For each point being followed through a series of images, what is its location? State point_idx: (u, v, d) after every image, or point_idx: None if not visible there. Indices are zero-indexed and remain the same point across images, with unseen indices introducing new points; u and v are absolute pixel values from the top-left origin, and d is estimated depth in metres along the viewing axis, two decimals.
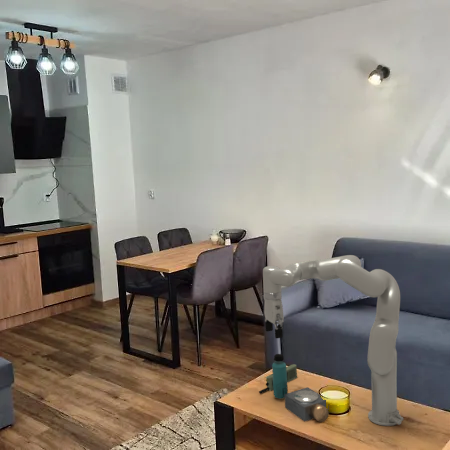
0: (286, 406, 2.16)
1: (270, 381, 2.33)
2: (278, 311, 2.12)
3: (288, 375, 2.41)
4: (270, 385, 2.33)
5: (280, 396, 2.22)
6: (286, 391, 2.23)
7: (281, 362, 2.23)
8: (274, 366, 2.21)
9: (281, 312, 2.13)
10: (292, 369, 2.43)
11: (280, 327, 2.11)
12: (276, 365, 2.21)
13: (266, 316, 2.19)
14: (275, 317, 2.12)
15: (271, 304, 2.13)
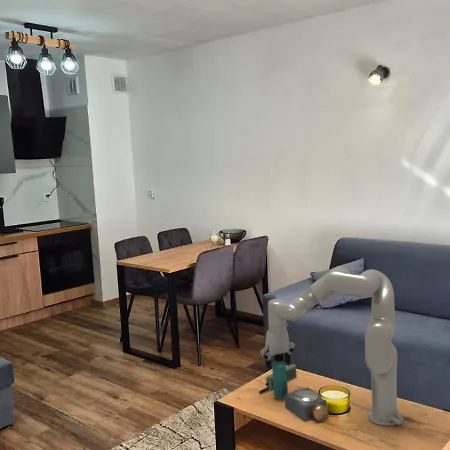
0: (286, 406, 2.16)
1: (270, 381, 2.33)
2: None
3: (288, 375, 2.41)
4: (270, 385, 2.33)
5: (280, 396, 2.22)
6: (286, 391, 2.23)
7: (281, 362, 2.23)
8: (274, 366, 2.21)
9: None
10: (292, 369, 2.43)
11: None
12: (276, 365, 2.21)
13: (276, 351, 2.19)
14: None
15: (286, 334, 2.21)
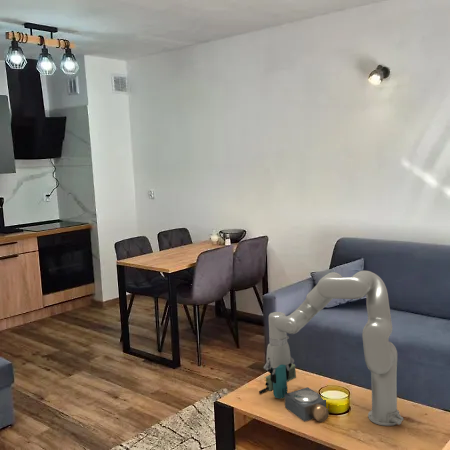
0: (286, 406, 2.16)
1: (270, 381, 2.33)
2: None
3: None
4: (270, 385, 2.33)
5: (280, 396, 2.22)
6: (286, 391, 2.23)
7: None
8: None
9: None
10: (291, 369, 2.43)
11: None
12: None
13: (277, 364, 2.20)
14: None
15: (287, 346, 2.22)
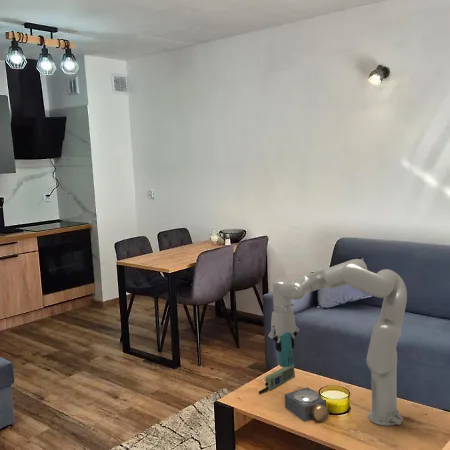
0: (286, 406, 2.16)
1: (269, 381, 2.33)
2: None
3: (286, 374, 2.42)
4: (269, 385, 2.33)
5: (285, 365, 2.17)
6: (291, 360, 2.18)
7: None
8: None
9: None
10: (290, 368, 2.44)
11: None
12: None
13: (282, 332, 2.15)
14: None
15: (292, 314, 2.17)
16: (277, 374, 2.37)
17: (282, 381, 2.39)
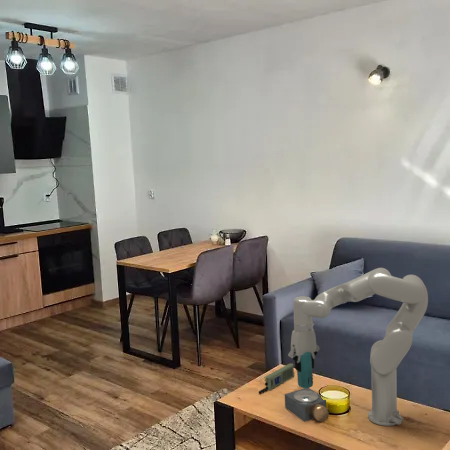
0: (286, 406, 2.16)
1: (269, 381, 2.33)
2: None
3: (286, 374, 2.42)
4: (269, 385, 2.33)
5: (305, 385, 2.08)
6: (311, 380, 2.09)
7: None
8: None
9: None
10: (289, 368, 2.44)
11: None
12: None
13: (302, 352, 2.07)
14: None
15: (313, 333, 2.09)
16: (277, 374, 2.37)
17: (282, 381, 2.39)
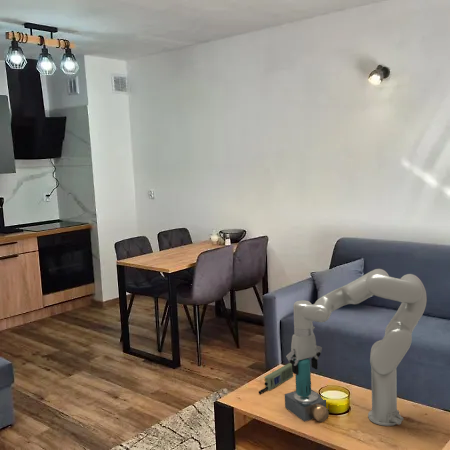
0: (286, 406, 2.16)
1: (269, 381, 2.33)
2: None
3: (285, 374, 2.42)
4: (269, 385, 2.33)
5: (303, 394, 2.08)
6: (310, 389, 2.09)
7: None
8: None
9: None
10: (289, 368, 2.44)
11: None
12: (299, 361, 2.08)
13: (303, 356, 2.07)
14: None
15: (313, 337, 2.09)
16: (276, 374, 2.37)
17: (281, 381, 2.40)
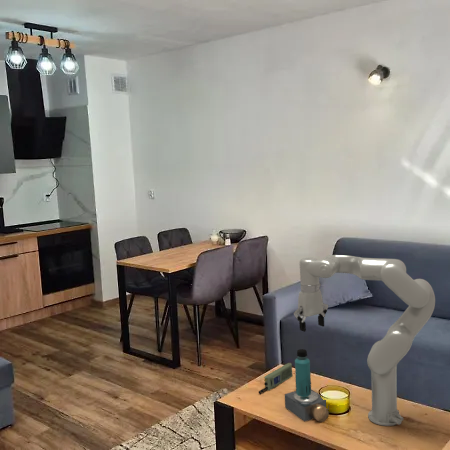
0: (286, 406, 2.16)
1: (269, 381, 2.33)
2: None
3: (284, 374, 2.42)
4: (269, 385, 2.33)
5: (303, 394, 2.08)
6: (310, 389, 2.09)
7: (304, 358, 2.10)
8: (297, 362, 2.08)
9: None
10: (288, 368, 2.44)
11: None
12: (299, 361, 2.08)
13: (310, 312, 2.07)
14: None
15: (320, 294, 2.09)
16: (276, 374, 2.37)
17: (281, 381, 2.40)
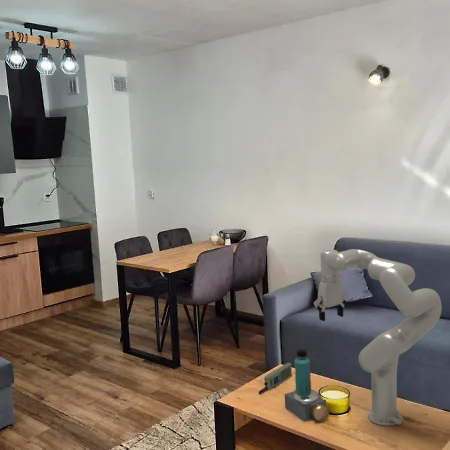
0: (286, 406, 2.16)
1: (269, 381, 2.33)
2: None
3: (284, 374, 2.42)
4: (269, 385, 2.33)
5: (303, 394, 2.08)
6: (310, 389, 2.09)
7: (304, 358, 2.10)
8: (297, 362, 2.08)
9: None
10: (287, 368, 2.45)
11: None
12: (299, 361, 2.08)
13: (329, 302, 2.14)
14: None
15: (340, 285, 2.15)
16: (276, 374, 2.37)
17: (280, 380, 2.40)
